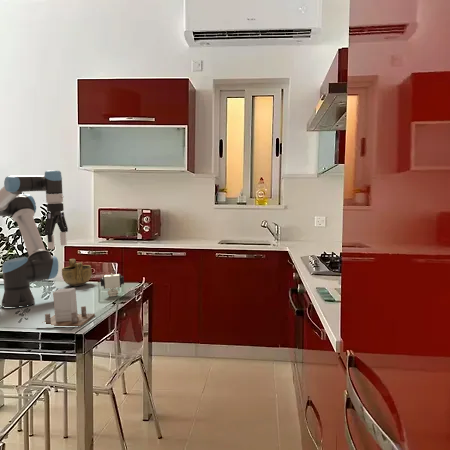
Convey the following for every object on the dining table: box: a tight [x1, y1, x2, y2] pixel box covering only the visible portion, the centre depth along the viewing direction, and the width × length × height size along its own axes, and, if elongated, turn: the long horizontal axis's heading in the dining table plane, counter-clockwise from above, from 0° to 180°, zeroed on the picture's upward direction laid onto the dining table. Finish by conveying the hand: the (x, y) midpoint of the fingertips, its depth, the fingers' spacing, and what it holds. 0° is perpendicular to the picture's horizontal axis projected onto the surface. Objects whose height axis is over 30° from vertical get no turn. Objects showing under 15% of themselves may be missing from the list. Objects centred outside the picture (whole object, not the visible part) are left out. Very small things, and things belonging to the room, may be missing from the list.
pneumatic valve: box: [99, 272, 125, 298], centre depth 250 cm, size 6×12×12 cm, turn 103°
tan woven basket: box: [61, 258, 93, 287], centre depth 286 cm, size 22×17×15 cm
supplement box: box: [52, 287, 79, 322], centre depth 200 cm, size 7×7×13 cm
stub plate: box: [43, 305, 96, 327], centre depth 200 cm, size 18×18×5 cm
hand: (57, 247), depth 230 cm, fingers open, 13 cm apart
